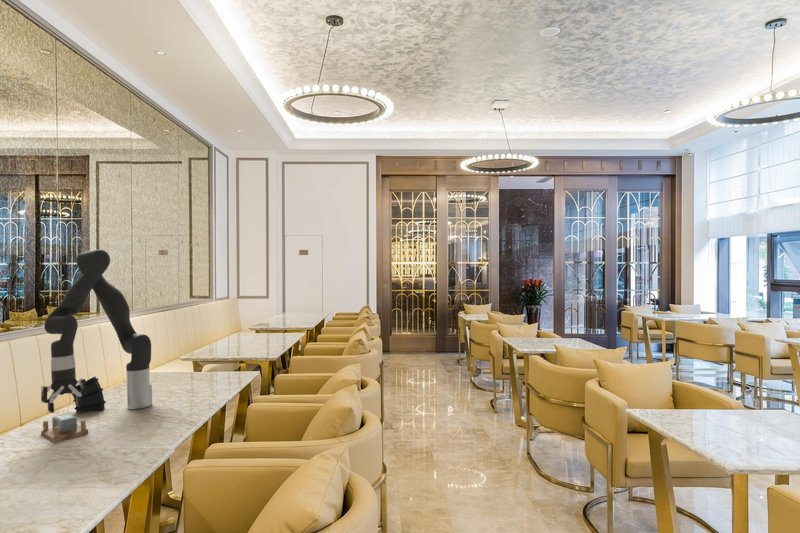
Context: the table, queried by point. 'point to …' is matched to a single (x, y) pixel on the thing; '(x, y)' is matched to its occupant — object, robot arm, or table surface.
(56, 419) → the grey rectangular block
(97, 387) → the black ribbed wedge
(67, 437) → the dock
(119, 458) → the table surface
